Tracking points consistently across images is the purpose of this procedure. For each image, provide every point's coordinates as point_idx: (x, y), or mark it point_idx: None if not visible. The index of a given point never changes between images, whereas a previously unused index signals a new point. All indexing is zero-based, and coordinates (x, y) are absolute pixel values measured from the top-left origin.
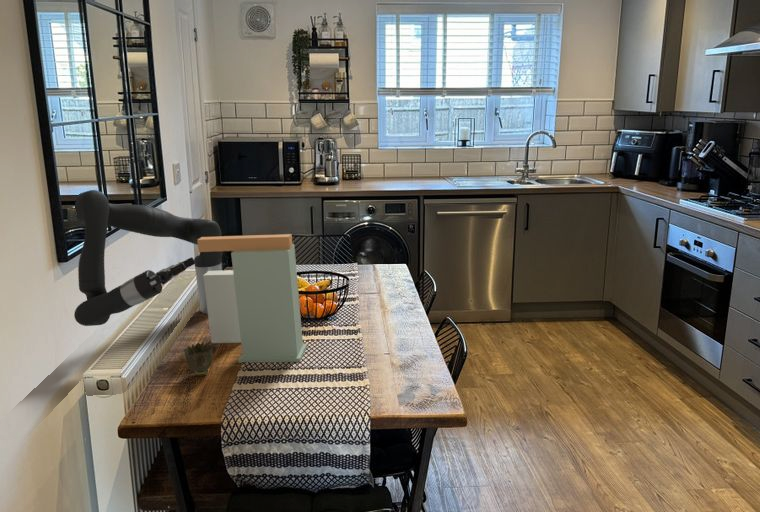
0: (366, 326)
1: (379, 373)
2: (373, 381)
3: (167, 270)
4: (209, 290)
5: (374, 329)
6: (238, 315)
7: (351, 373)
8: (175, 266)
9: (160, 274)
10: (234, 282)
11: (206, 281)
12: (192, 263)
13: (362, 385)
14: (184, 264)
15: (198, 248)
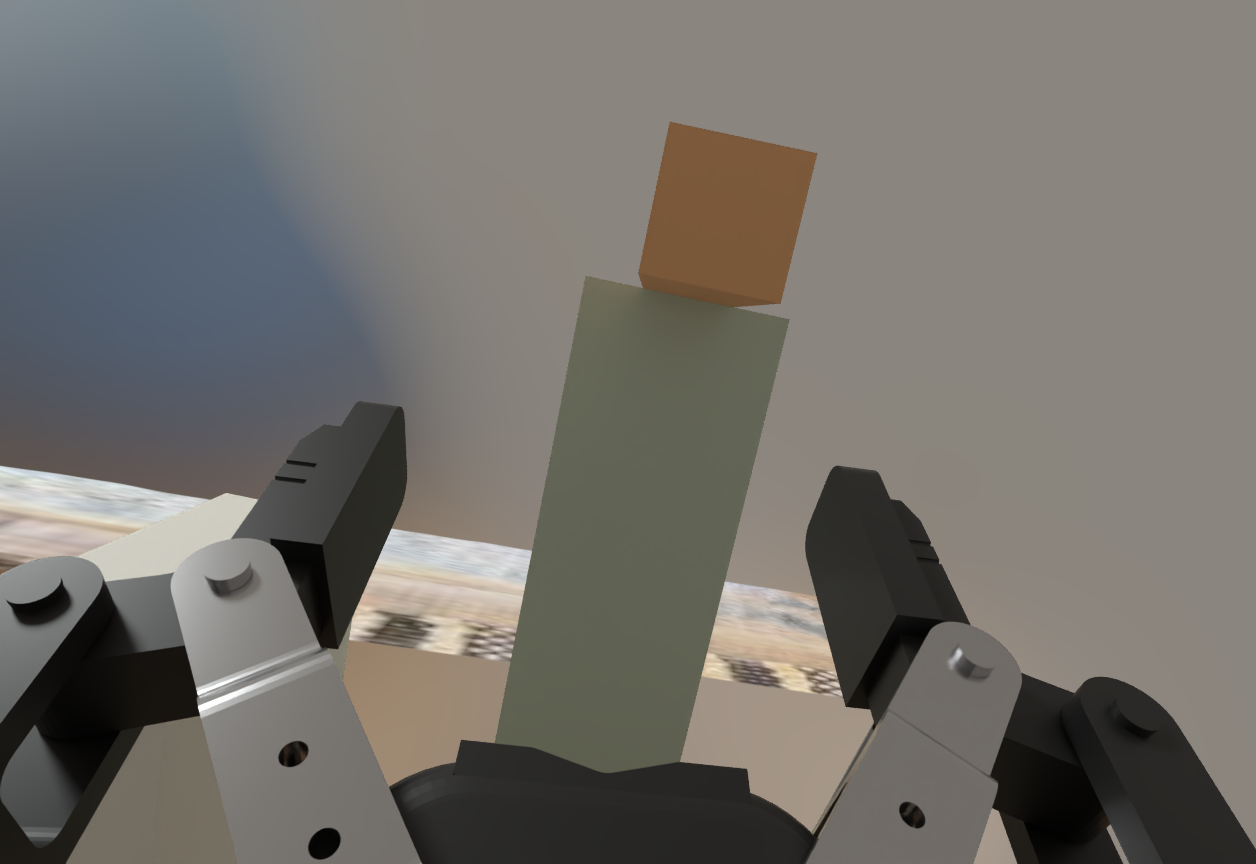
0: (370, 598)
1: (729, 642)
2: (776, 657)
3: (1017, 674)
4: (192, 818)
5: (410, 592)
6: (684, 740)
7: (736, 679)
8: (909, 546)
9: (1226, 813)
10: (737, 528)
11: (189, 726)
12: (396, 497)
13: (803, 675)
14: (345, 555)
15: (790, 261)
